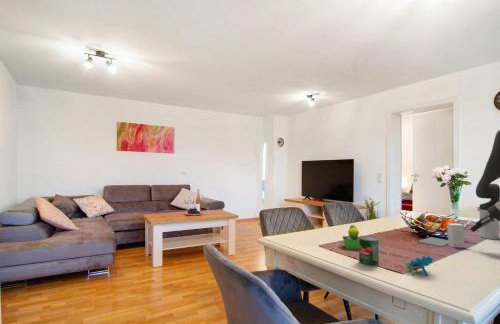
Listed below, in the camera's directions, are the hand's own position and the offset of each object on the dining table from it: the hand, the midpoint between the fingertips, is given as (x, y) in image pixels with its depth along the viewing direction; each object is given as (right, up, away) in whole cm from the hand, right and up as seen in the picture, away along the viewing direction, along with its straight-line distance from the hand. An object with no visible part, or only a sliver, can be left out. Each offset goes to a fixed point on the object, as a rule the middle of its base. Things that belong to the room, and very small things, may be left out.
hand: (471, 230), depth 142 cm
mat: (-9, -10, +14) cm, 20 cm away
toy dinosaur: (-48, -9, -33) cm, 59 cm away
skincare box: (-4, -10, +5) cm, 12 cm away
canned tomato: (-64, -9, -23) cm, 68 cm away
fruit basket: (-61, -10, +1) cm, 62 cm away
